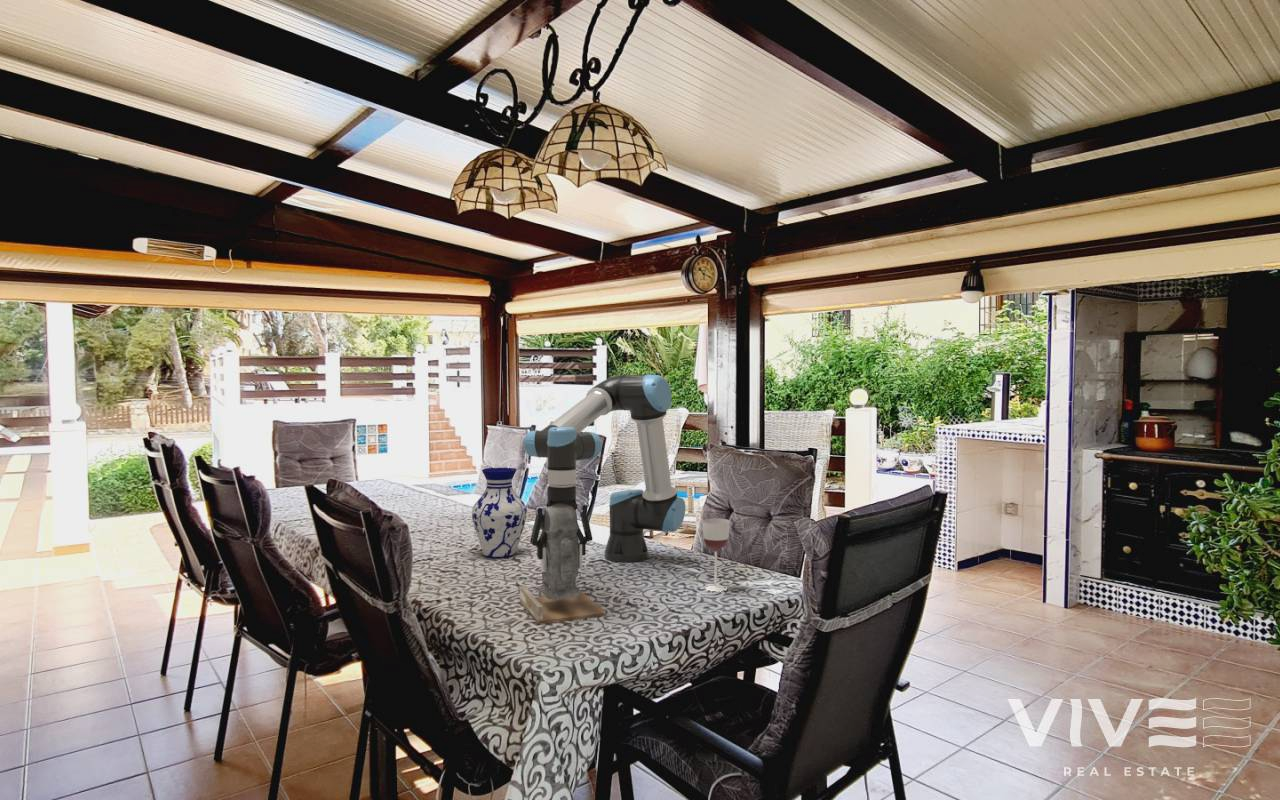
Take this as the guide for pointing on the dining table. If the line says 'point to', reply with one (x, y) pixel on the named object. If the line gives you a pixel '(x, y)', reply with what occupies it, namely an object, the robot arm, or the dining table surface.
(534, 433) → the robot arm
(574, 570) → the figurine
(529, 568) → the dining table surface
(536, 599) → the shelf board
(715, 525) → the wineglass
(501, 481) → the vase
